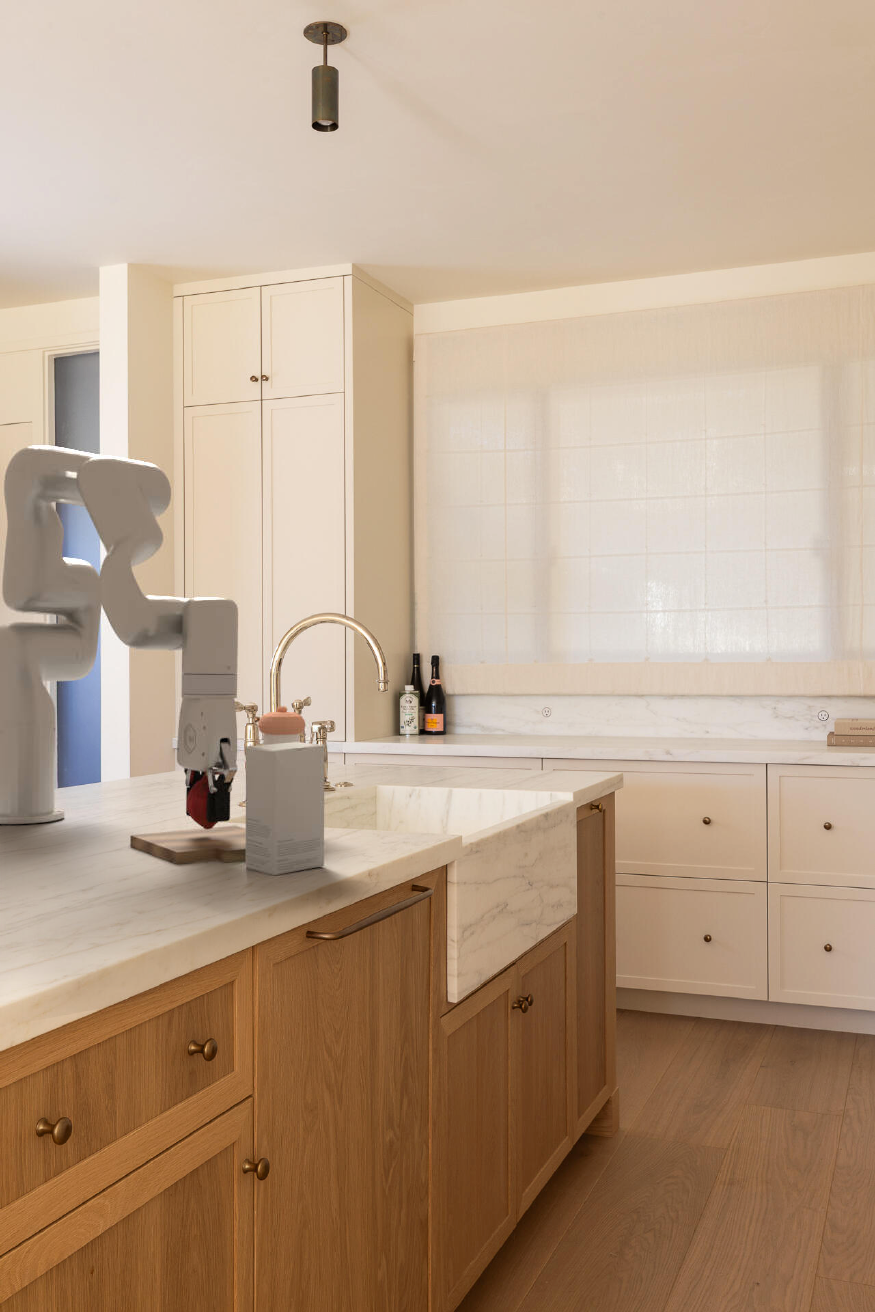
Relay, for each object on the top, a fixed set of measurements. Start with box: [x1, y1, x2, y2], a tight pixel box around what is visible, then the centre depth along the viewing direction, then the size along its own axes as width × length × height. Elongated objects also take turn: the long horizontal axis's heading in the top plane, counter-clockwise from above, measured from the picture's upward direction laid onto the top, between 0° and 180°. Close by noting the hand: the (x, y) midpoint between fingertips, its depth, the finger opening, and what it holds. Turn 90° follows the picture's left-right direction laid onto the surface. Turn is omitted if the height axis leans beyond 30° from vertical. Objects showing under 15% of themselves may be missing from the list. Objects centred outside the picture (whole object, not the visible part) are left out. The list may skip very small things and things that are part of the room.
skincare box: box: [244, 741, 326, 876], centre depth 138 cm, size 8×7×16 cm
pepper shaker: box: [257, 705, 307, 745], centre depth 164 cm, size 7×7×19 cm
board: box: [129, 825, 246, 865], centre depth 150 cm, size 18×16×2 cm
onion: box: [185, 772, 219, 829], centre depth 151 cm, size 6×6×8 cm
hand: (207, 817), depth 151 cm, fingers closed on onion, 5 cm apart
